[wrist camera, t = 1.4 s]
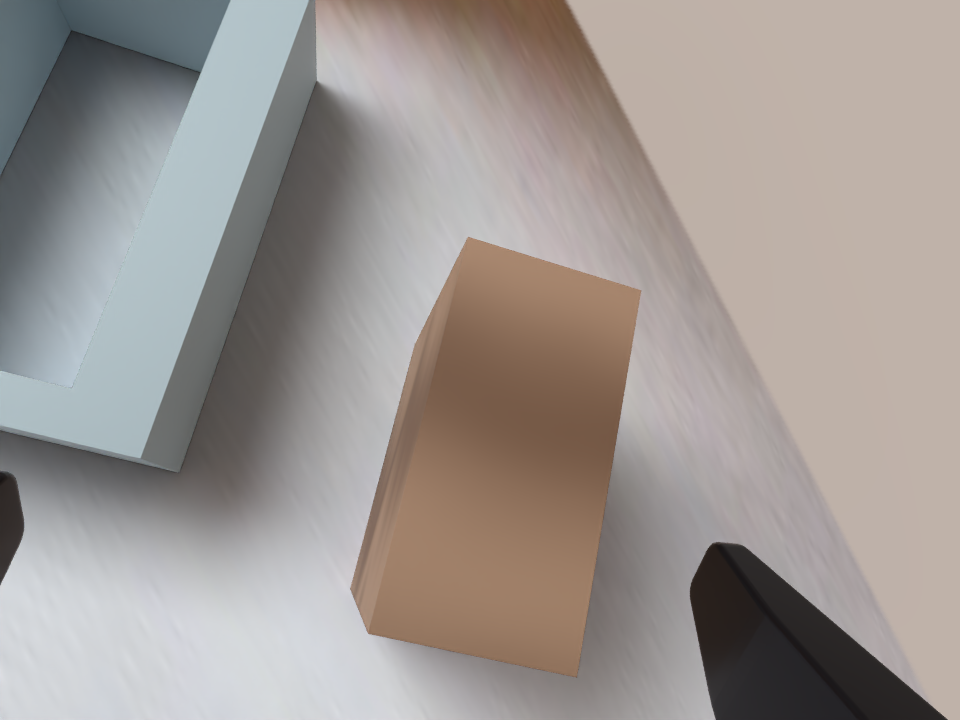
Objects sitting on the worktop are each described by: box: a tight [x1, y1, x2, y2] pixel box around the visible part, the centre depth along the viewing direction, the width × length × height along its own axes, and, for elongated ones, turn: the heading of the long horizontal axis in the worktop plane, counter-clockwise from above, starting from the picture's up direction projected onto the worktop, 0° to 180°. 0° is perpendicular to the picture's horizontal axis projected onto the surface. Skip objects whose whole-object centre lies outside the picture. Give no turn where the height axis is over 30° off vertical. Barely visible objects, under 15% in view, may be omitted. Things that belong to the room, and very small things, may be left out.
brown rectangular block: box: [350, 237, 641, 677], centre depth 18 cm, size 8×4×9 cm, turn 167°
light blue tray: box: [0, 0, 317, 473], centre depth 19 cm, size 14×10×4 cm
